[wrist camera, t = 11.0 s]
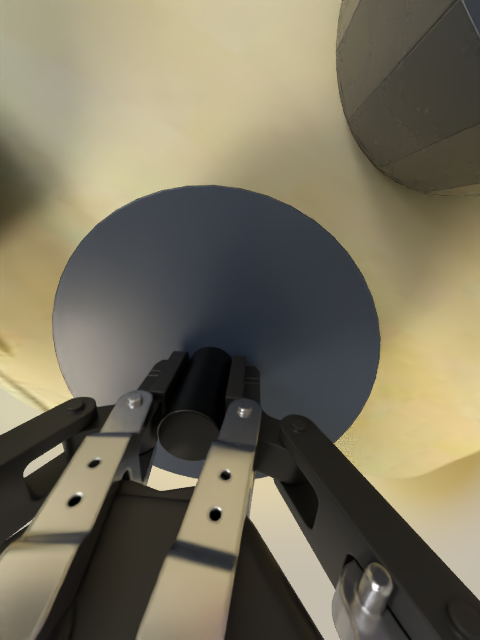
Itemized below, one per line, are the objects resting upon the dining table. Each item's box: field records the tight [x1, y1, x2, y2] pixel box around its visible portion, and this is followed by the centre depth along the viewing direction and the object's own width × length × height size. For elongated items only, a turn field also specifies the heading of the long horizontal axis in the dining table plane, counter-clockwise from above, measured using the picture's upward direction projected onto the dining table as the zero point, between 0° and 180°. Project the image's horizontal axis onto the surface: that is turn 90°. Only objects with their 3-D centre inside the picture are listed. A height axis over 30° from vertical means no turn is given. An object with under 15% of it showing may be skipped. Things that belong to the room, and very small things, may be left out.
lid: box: [53, 185, 380, 479], centre depth 12 cm, size 18×18×6 cm
